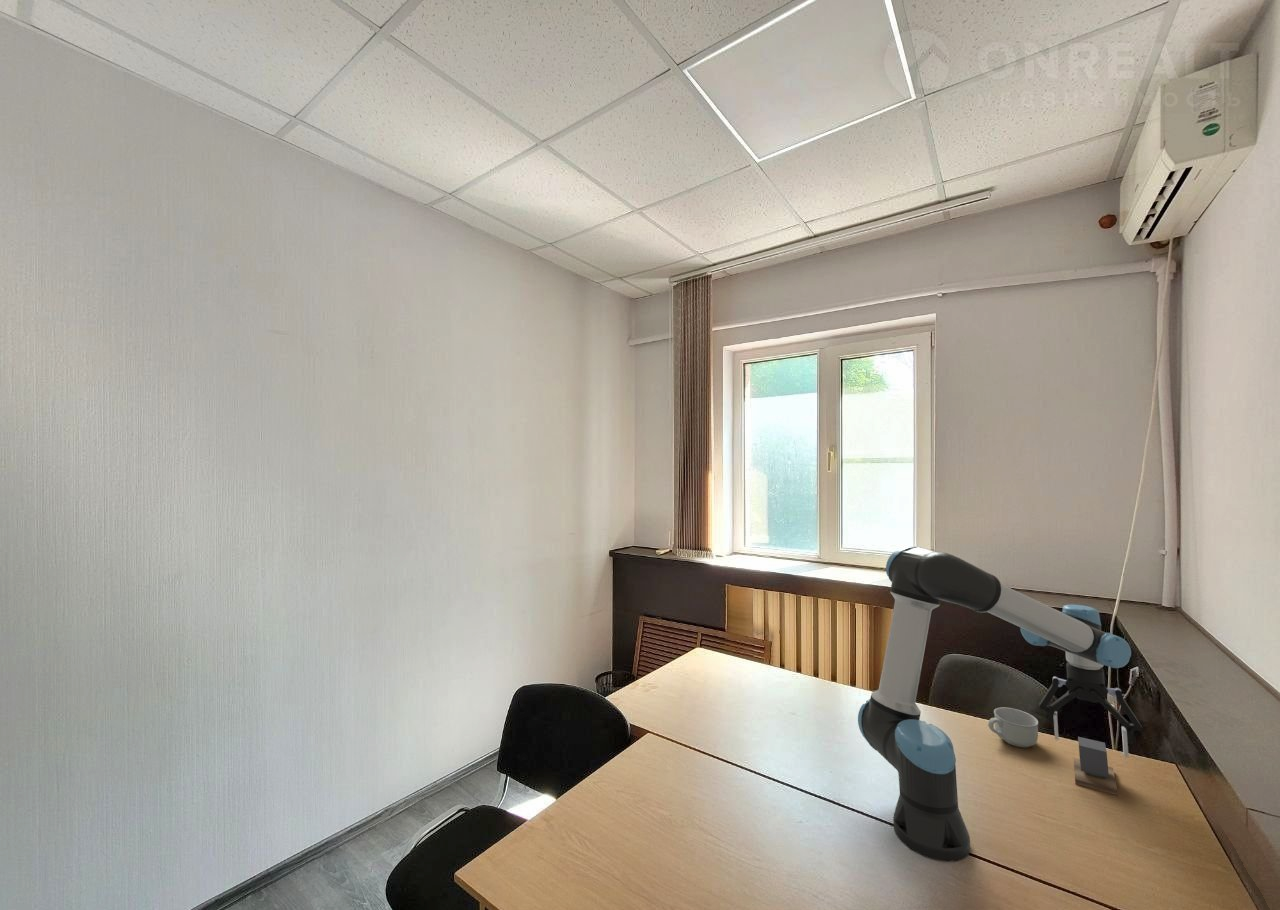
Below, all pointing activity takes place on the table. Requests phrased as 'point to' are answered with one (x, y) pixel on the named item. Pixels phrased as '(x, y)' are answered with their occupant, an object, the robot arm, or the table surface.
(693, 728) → the table surface
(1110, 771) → the stand
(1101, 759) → the grey upright block
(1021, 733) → the teacup
